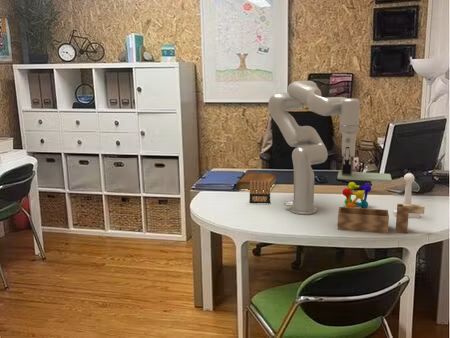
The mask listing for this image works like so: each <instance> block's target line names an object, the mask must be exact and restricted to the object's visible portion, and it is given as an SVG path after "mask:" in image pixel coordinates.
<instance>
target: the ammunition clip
mask: <svg viewBox="0 0 450 338" xmlns="http://www.w3.org/2000/svg"><path fill="white" fill-rule="evenodd" d="M249 203H270V204H271V191H270V182H269V181H268V184H267V188H266V181H265V182H264V192H263V182H262V181H261V186H259V181H258V182H257V191H256V182H255V181H254V186H253V187H252V181H251V182H250V191H249Z"/></svg>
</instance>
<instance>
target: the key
mask: <svg viewBox="0 0 450 338" xmlns="http://www.w3.org/2000/svg"><path fill="white" fill-rule="evenodd" d="M402 204H403V203H402ZM403 207H409V213H416V214H420V215H424V214H425V209H426V208H425V205H424V204H414V203H413V204H412V203H411V204H403Z"/></svg>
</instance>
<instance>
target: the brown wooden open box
mask: <svg viewBox="0 0 450 338" xmlns="http://www.w3.org/2000/svg"><path fill="white" fill-rule="evenodd" d="M396 210H397V217H395V218H396V219H395V220H396V222H395V230H396V233H398V234H399V233H400V234H408V228H409V227H408V226H409V218H408V216H409V215H408V214H409V207H403V203H397V204H396ZM389 222H390V215H389V210H388V209H381V208H379V209H377V208H361V207H354V208H350V207H346V206H339V207H338V212H337V230H339V231H341V230H342V231H350V232H351V231H352V232H353V231H354V232H365V233H376V234H377V233H379V234H389V224H390V223H389Z"/></svg>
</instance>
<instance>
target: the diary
mask: <svg viewBox="0 0 450 338" xmlns="http://www.w3.org/2000/svg"><path fill="white" fill-rule="evenodd" d="M277 176H278V174H277V173H261V172H260V173H258V172H247V173H246V174H245V175H244V176H243V177H241V178H240V179H239V180H238V182H237V183H236V185H237V186H236V187H237V188H238V189H239V188H240V189H248V190H250V182H251V181H252V187H253V186H254V181H255V182H256V190H257V182H258V181H259V186H261V181H262V182H263V190H264V182H265V181H266V188H267V184H268V181H269V182H270V188H271V187H272V185H273V184H274V183H275V181H276V182H277V180H276V179H277ZM238 189H237V190H238Z"/></svg>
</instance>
